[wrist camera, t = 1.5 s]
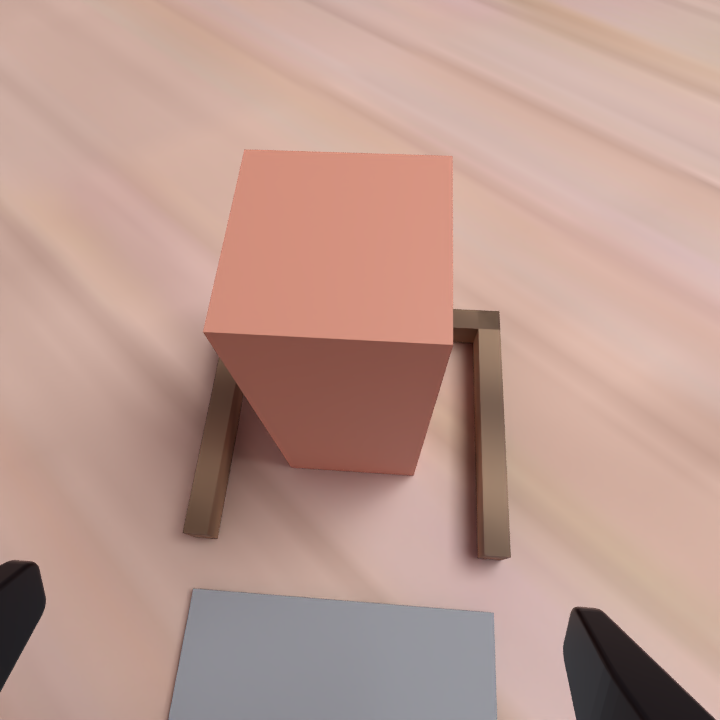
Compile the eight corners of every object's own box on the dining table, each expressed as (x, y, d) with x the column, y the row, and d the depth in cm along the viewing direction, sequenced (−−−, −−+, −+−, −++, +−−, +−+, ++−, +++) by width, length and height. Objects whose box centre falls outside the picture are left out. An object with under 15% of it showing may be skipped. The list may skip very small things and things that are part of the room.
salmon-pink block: (413, 475, 23) (452, 344, 11) (291, 467, 23) (202, 332, 11) (416, 363, 25) (452, 155, 13) (305, 357, 25) (244, 149, 14)
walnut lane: (502, 559, 21) (510, 557, 20) (194, 536, 22) (182, 532, 21) (492, 326, 26) (499, 311, 24) (238, 313, 27) (231, 298, 25)
